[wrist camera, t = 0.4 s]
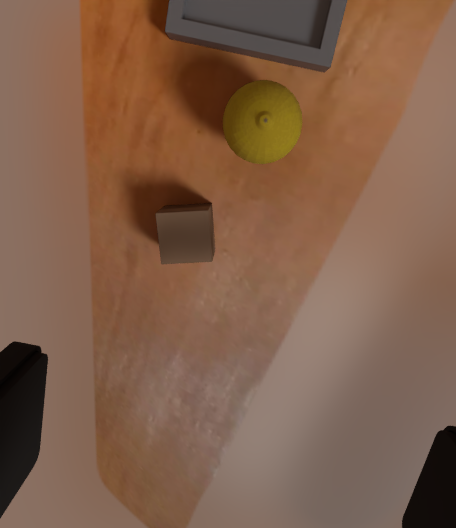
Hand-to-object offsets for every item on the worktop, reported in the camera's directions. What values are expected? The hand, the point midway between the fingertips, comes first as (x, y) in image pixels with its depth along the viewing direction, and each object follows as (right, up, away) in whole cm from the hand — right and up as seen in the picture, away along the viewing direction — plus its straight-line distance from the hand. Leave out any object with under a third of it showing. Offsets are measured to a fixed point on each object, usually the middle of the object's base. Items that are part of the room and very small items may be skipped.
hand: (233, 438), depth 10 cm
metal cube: (-3, +7, +26) cm, 27 cm away
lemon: (+2, +15, +23) cm, 28 cm away
